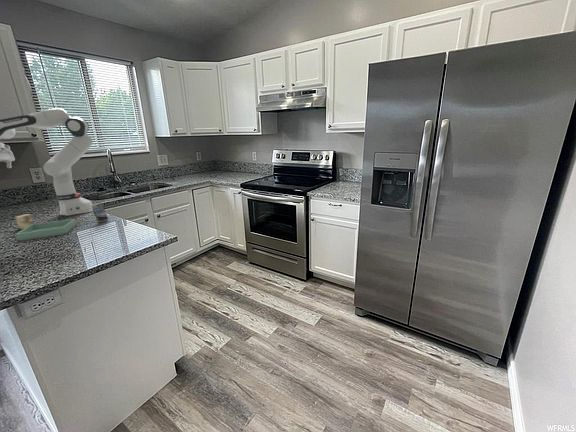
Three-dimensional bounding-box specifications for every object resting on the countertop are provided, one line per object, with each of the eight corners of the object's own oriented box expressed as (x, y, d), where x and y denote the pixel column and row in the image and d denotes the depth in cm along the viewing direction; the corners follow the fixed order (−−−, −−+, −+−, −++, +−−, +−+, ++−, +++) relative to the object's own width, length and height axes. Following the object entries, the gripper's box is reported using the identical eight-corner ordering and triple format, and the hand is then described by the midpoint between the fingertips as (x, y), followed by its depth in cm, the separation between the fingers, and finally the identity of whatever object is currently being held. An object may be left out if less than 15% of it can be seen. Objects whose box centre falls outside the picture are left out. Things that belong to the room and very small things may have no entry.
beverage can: (102, 223, 167) (97, 205, 164) (93, 222, 169) (87, 205, 165) (110, 219, 173) (106, 202, 169) (101, 219, 175) (96, 202, 171)
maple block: (28, 226, 168) (23, 214, 166) (34, 226, 168) (30, 214, 165) (19, 229, 164) (15, 216, 161) (26, 229, 163) (22, 216, 161)
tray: (77, 224, 167) (75, 218, 166) (66, 233, 151) (63, 227, 150) (34, 230, 160) (31, 224, 159) (17, 240, 144) (14, 234, 143)
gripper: (-19, 143, 157) (-7, 166, 160) (11, 146, 177) (21, 166, 180) (-30, 146, 156) (-18, 169, 159) (1, 149, 176) (11, 169, 179)
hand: (3, 167), depth 169 cm, fingers open, 8 cm apart
